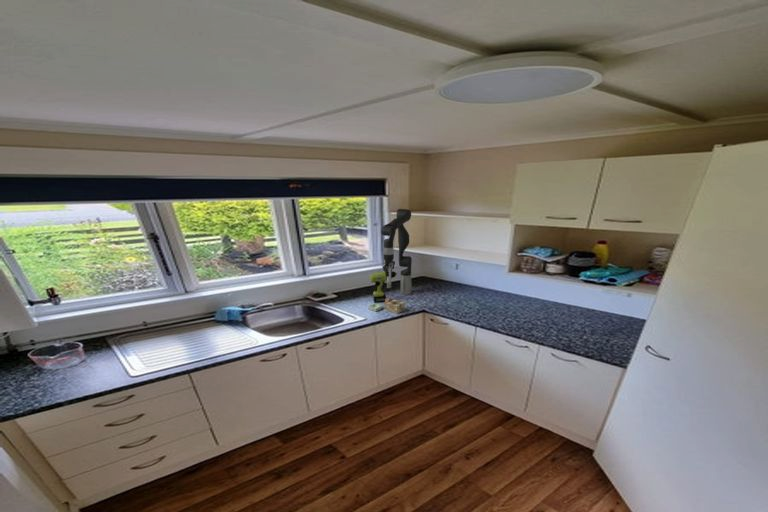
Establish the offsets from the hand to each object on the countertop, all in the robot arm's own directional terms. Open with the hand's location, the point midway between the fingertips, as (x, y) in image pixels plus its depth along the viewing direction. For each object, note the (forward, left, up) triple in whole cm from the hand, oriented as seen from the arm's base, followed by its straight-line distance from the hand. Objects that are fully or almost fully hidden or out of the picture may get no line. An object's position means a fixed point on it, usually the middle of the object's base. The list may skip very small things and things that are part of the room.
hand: (388, 275), depth 229 cm
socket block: (-2, +4, -27) cm, 28 cm away
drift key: (-2, -3, -27) cm, 28 cm away
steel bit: (0, 0, -9) cm, 9 cm away
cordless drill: (-13, -15, -27) cm, 34 cm away
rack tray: (+5, -10, -27) cm, 29 cm away
